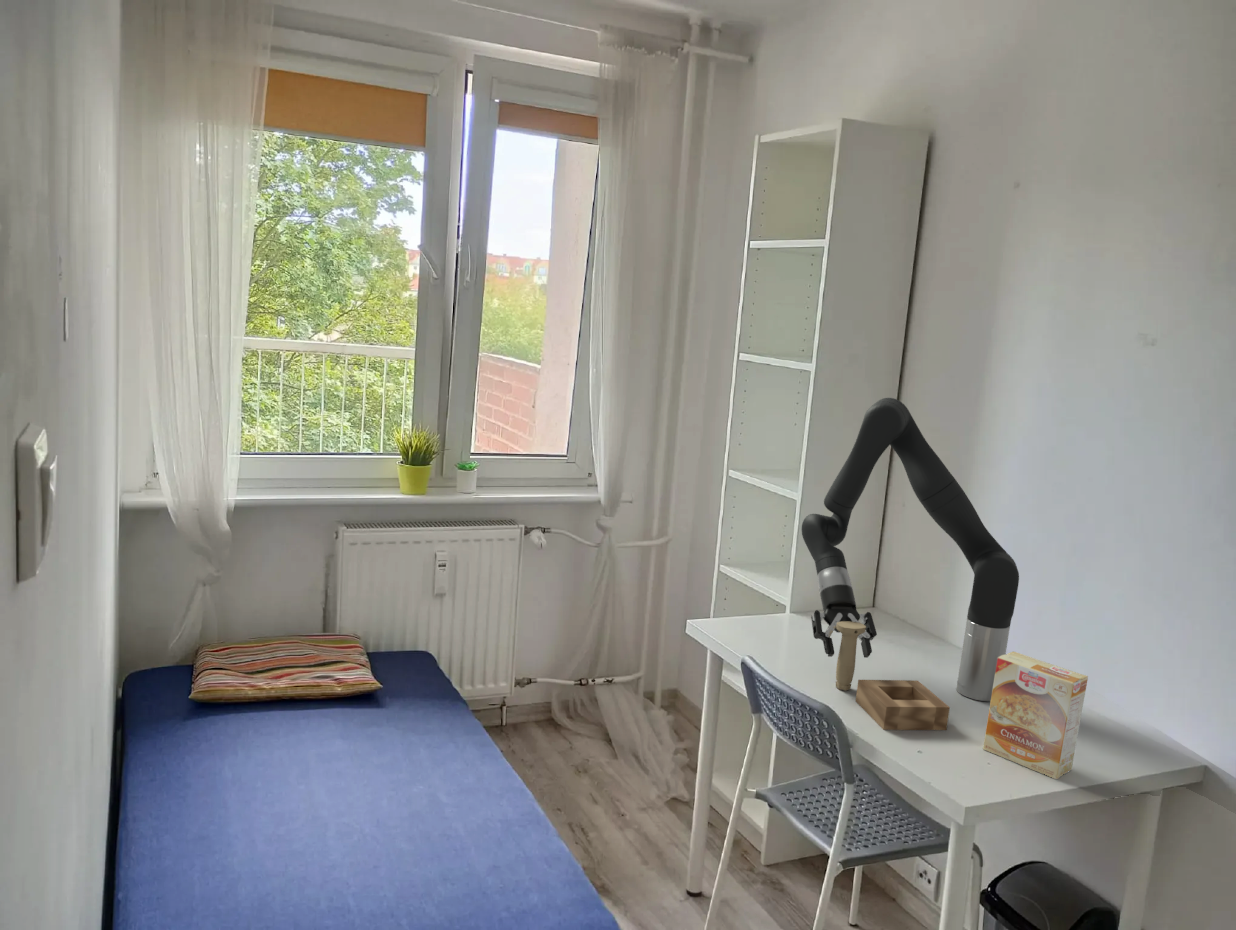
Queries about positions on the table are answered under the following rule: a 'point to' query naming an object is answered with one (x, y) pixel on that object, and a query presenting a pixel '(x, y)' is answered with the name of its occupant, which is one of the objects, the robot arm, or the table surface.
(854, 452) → the robot arm
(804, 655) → the table surface
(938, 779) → the table surface
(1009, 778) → the table surface
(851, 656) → the handle
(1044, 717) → the coffeecake box
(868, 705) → the socket block
